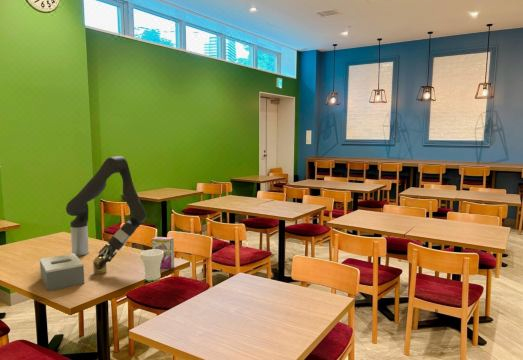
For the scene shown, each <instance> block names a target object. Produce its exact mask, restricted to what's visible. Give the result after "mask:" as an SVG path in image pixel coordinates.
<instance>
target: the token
mask: <svg viewBox="0 0 523 360" xmlns="http://www.w3.org/2000/svg"><path fill="white" fill-rule="evenodd" d="M102 260H104V257H98V256H96V258H94V259H93V261H92V266H93V267H92V269H93V275H94V276H97V275H101V274H106V273H107V263H106V264H105V265H104V266H103V267H102V268H101V267H100V266H99V264H100V263H101V261H102Z"/></svg>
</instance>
